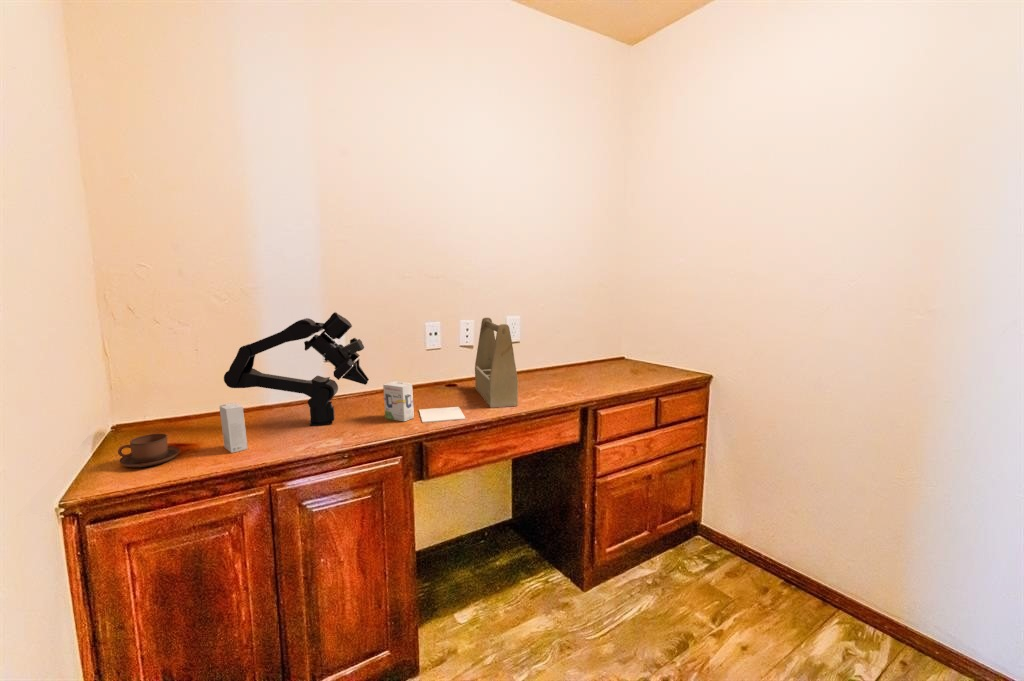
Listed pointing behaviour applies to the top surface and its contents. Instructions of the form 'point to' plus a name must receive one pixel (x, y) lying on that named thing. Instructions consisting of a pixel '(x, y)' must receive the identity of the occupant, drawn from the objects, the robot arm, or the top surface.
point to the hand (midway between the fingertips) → (367, 382)
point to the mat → (441, 414)
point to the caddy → (496, 366)
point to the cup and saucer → (148, 451)
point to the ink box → (398, 401)
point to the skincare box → (233, 427)
